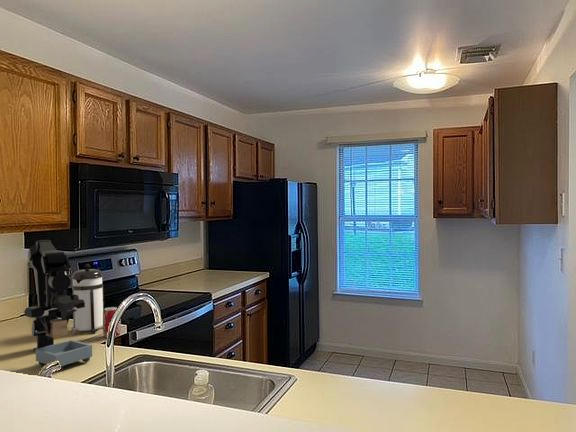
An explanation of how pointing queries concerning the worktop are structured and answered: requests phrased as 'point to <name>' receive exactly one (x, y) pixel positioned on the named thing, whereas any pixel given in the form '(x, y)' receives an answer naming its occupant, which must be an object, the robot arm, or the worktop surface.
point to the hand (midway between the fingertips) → (56, 332)
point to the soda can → (106, 320)
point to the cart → (64, 353)
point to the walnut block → (57, 328)
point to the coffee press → (88, 299)
